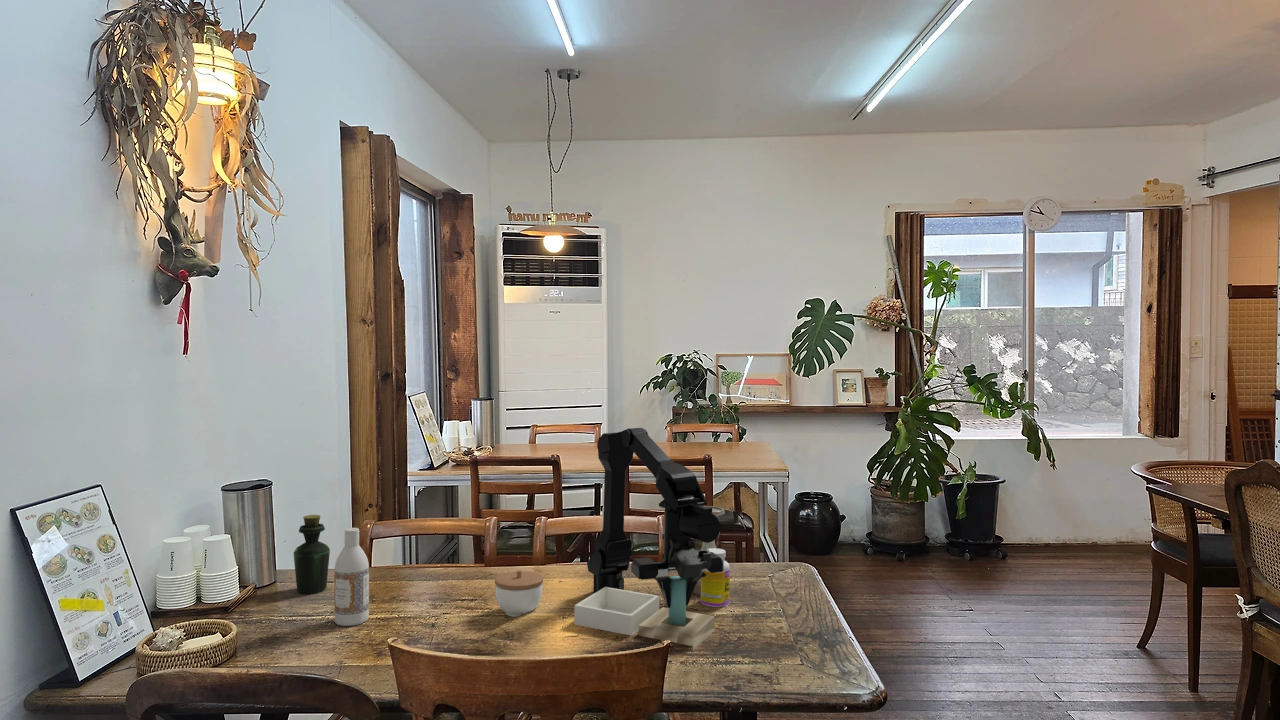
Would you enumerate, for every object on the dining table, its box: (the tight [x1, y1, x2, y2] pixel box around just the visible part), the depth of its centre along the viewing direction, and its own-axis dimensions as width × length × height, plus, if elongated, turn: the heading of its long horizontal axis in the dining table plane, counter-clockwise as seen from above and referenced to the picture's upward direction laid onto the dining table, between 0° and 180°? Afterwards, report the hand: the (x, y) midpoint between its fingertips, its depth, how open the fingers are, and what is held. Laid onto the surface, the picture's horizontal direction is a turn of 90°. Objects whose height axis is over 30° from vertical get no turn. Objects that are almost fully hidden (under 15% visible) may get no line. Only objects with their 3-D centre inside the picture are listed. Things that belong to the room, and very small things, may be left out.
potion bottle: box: [292, 514, 331, 595], centre depth 180 cm, size 8×8×18 cm
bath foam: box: [333, 527, 370, 627], centre depth 160 cm, size 7×7×20 cm
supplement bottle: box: [700, 547, 731, 608], centre depth 171 cm, size 7×7×13 cm
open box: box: [573, 587, 660, 637], centre depth 160 cm, size 14×14×5 cm
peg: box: [669, 575, 687, 626], centre depth 153 cm, size 4×4×9 cm
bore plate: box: [638, 607, 715, 652], centre depth 153 cm, size 12×12×3 cm
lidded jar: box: [494, 569, 544, 618], centre depth 166 cm, size 11×11×9 cm
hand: (677, 606), depth 153 cm, fingers closed on peg, 4 cm apart
